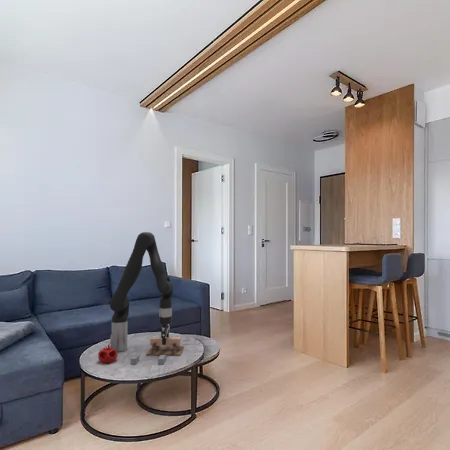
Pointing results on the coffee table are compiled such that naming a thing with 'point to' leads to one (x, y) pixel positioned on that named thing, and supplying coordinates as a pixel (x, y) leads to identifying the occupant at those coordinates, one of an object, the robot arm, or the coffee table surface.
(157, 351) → the rack
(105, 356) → the pomegranate
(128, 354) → the coffee table surface
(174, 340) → the light wooden bar
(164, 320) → the robot arm
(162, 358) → the blocks
